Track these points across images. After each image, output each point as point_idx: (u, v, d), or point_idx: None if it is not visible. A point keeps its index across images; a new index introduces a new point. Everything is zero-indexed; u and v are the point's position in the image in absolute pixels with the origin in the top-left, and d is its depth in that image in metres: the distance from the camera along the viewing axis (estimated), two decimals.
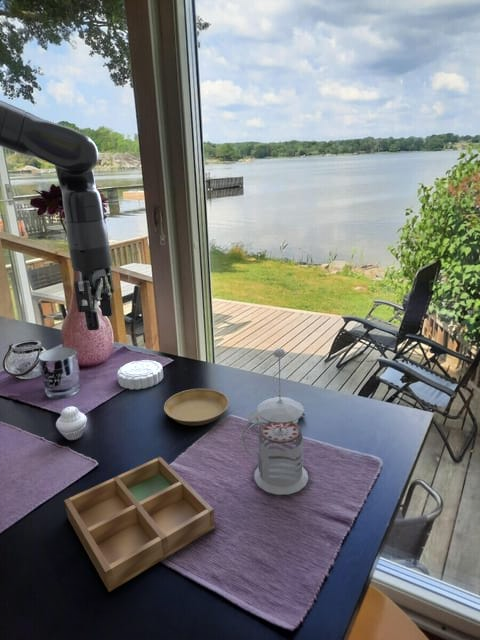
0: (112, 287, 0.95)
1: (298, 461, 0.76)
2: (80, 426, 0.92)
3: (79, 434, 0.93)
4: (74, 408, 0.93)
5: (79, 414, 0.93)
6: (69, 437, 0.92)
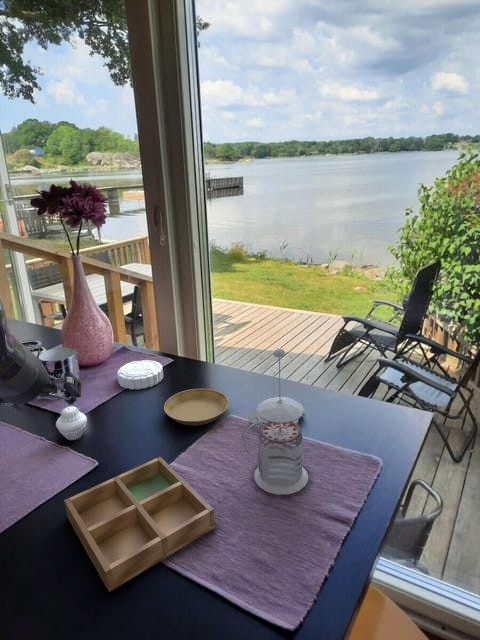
0: (75, 395, 0.74)
1: (298, 461, 0.76)
2: (80, 426, 0.92)
3: (79, 434, 0.93)
4: (74, 408, 0.93)
5: (79, 414, 0.93)
6: (69, 437, 0.92)
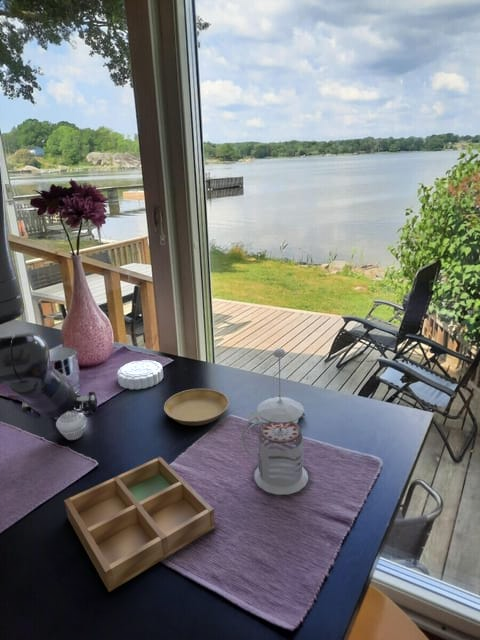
0: (92, 410, 0.90)
1: (298, 461, 0.76)
2: (80, 426, 0.92)
3: (79, 434, 0.93)
4: (74, 408, 0.93)
5: (79, 414, 0.93)
6: (69, 437, 0.92)
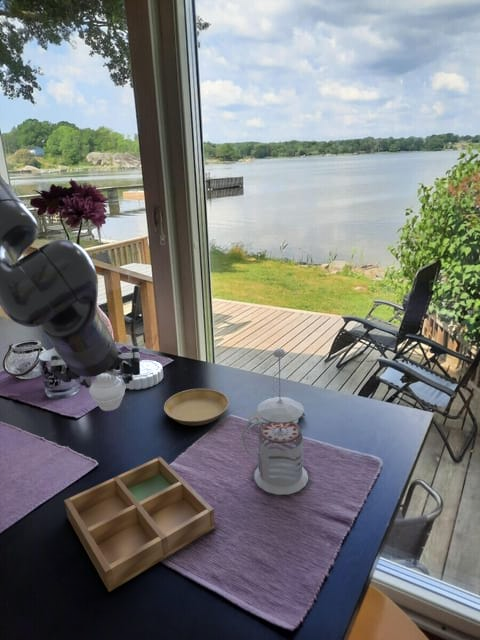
0: (135, 372, 0.73)
1: (298, 461, 0.76)
2: (119, 393, 0.75)
3: (117, 404, 0.77)
4: None
5: (117, 379, 0.76)
6: (105, 407, 0.76)
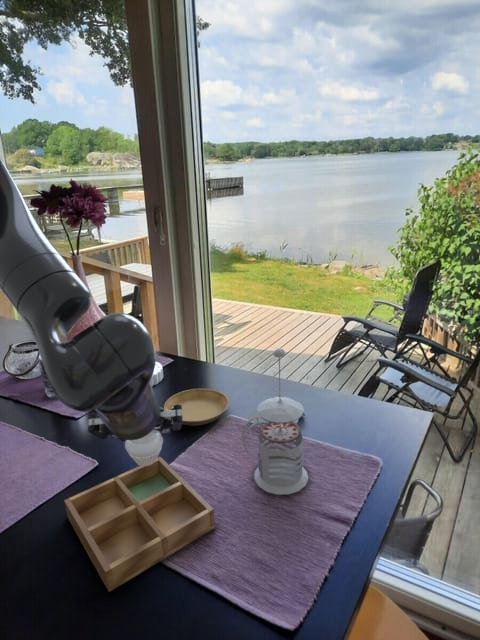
0: (175, 428, 0.69)
1: (298, 461, 0.76)
2: (157, 448, 0.71)
3: (154, 458, 0.72)
4: None
5: (155, 433, 0.72)
6: (142, 463, 0.71)
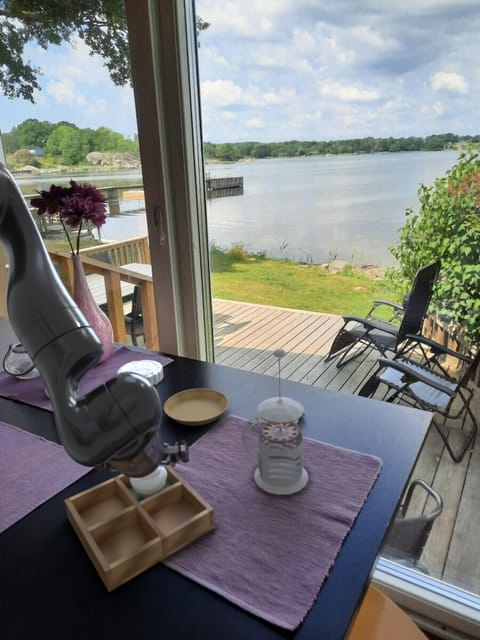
0: (184, 461, 0.71)
1: (298, 461, 0.76)
2: (161, 483, 0.73)
3: None
4: None
5: (159, 467, 0.74)
6: (147, 497, 0.73)
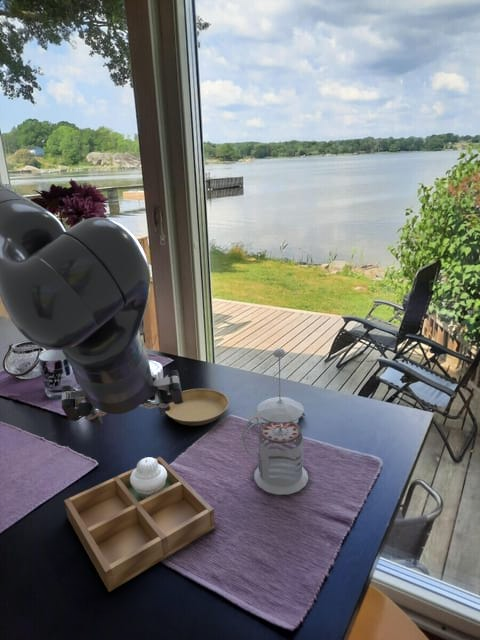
0: (177, 401, 0.57)
1: (298, 461, 0.76)
2: (161, 483, 0.73)
3: None
4: (153, 460, 0.74)
5: (159, 467, 0.74)
6: (147, 497, 0.73)
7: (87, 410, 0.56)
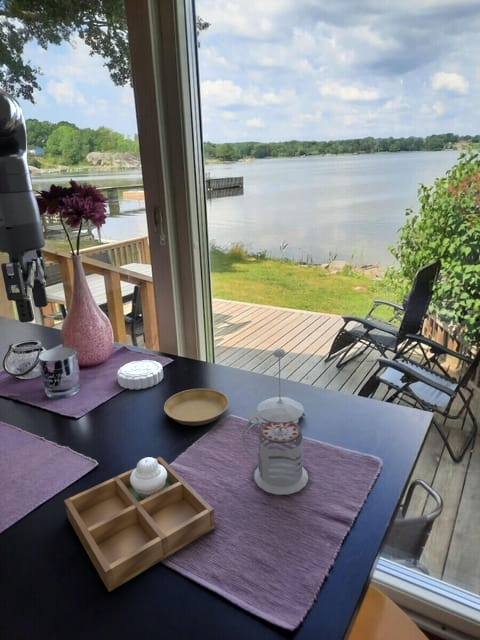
0: (45, 273, 0.82)
1: (298, 461, 0.76)
2: (161, 483, 0.73)
3: None
4: (153, 460, 0.74)
5: (159, 467, 0.74)
6: (147, 497, 0.73)
7: None
